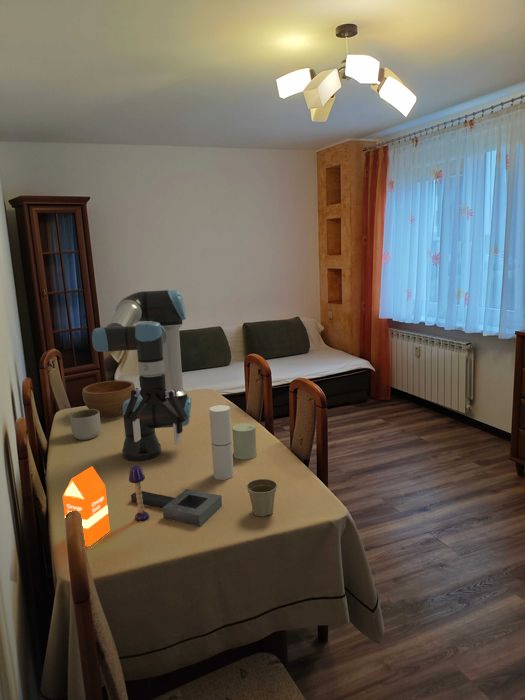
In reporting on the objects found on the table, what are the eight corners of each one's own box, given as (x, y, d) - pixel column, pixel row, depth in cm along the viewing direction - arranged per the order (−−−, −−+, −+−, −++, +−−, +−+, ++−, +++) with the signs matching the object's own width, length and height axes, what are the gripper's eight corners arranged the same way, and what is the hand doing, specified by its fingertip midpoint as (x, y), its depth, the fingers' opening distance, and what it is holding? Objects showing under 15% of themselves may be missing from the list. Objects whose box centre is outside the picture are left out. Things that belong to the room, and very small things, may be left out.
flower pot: (246, 505, 158) (245, 479, 156) (276, 502, 159) (275, 477, 157) (248, 520, 149) (247, 493, 147) (280, 518, 149) (279, 491, 148)
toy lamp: (138, 524, 149) (133, 471, 146) (129, 519, 152) (124, 467, 149) (152, 517, 153) (147, 466, 150) (143, 512, 156) (138, 462, 153)
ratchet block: (121, 508, 159) (120, 498, 158) (147, 490, 170) (146, 481, 170) (200, 526, 147) (199, 515, 146) (222, 505, 158) (221, 495, 157)
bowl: (99, 407, 266) (96, 380, 263) (144, 408, 262) (142, 380, 259) (75, 424, 242) (72, 393, 239) (125, 424, 238) (122, 393, 235)
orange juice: (67, 543, 141) (59, 477, 137) (89, 527, 149) (81, 464, 145) (90, 548, 138) (82, 480, 134) (110, 531, 146) (103, 467, 142)
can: (254, 460, 192) (252, 430, 189) (230, 459, 194) (229, 429, 191) (259, 450, 200) (257, 422, 198) (236, 449, 202) (235, 421, 200)
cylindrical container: (218, 481, 175) (213, 412, 170) (210, 473, 181) (206, 407, 176) (236, 476, 178) (233, 409, 173) (228, 469, 184) (225, 403, 180)
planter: (66, 440, 221) (63, 416, 218) (85, 430, 232) (83, 408, 230) (88, 443, 216) (86, 419, 214) (107, 433, 227) (105, 410, 225)
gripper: (108, 376, 150) (114, 443, 154) (184, 378, 143) (189, 449, 147) (121, 370, 157) (127, 435, 161) (195, 372, 150) (200, 439, 154)
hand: (157, 441), depth 154 cm, fingers open, 13 cm apart
